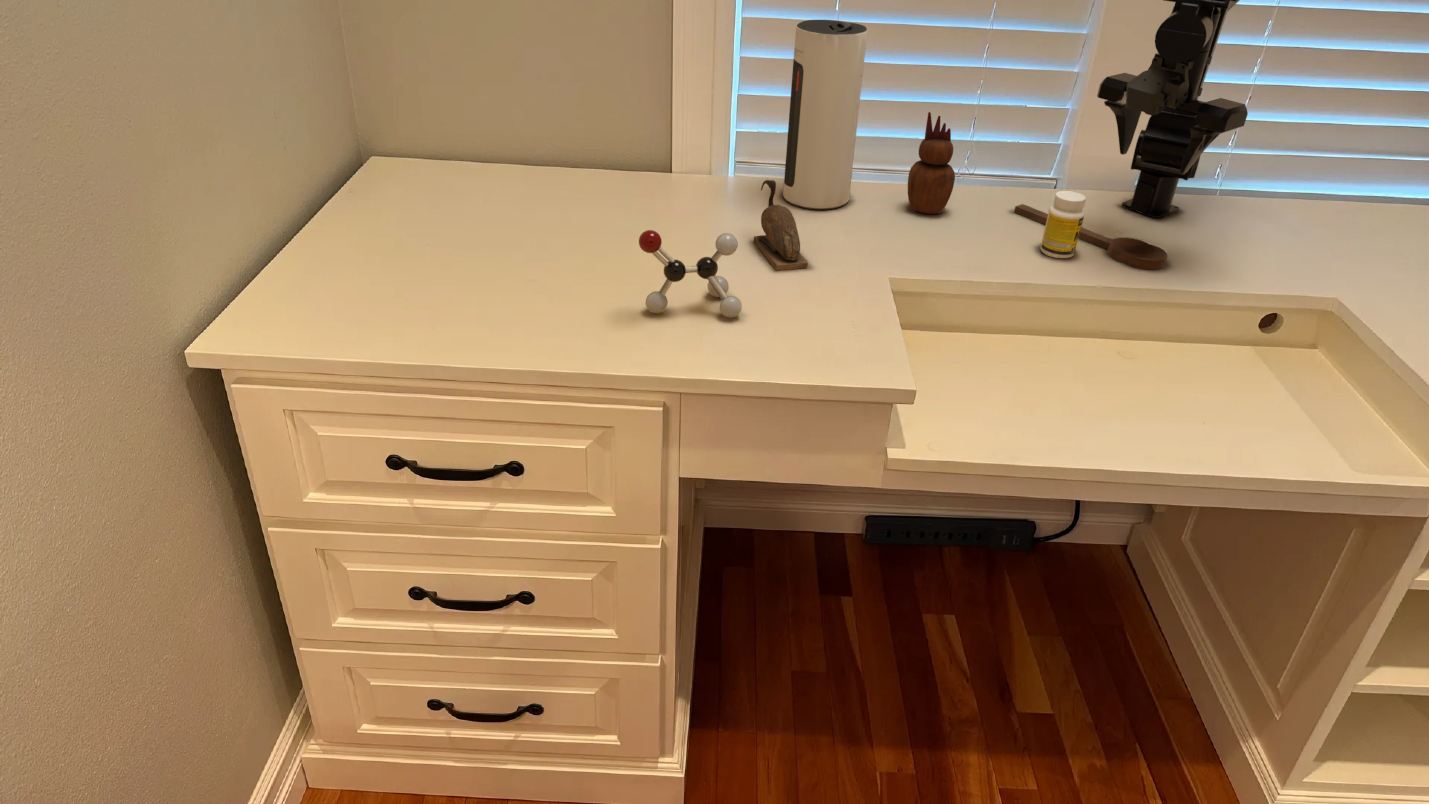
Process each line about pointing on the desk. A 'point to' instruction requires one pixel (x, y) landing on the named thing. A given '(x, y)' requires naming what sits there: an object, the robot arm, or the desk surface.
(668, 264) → the molecular model
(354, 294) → the desk surface
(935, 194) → the wooden figurine
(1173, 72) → the robot arm
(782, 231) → the figurine
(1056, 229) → the supplement bottle
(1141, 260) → the wooden spoon
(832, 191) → the speaker
